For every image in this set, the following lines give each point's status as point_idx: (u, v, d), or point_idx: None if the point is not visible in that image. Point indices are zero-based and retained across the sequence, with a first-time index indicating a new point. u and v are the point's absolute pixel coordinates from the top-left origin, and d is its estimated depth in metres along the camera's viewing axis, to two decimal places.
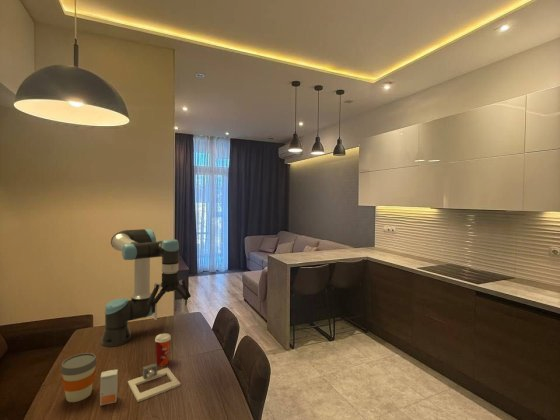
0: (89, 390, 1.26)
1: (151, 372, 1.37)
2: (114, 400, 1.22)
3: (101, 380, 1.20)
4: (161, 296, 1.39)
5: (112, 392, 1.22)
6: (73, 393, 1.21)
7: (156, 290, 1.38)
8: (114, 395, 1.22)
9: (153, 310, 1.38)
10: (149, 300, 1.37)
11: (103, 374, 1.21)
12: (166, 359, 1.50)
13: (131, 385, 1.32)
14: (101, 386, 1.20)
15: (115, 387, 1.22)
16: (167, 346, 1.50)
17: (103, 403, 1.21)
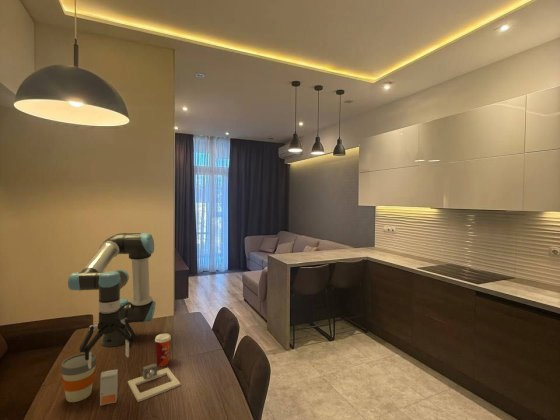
0: (89, 390, 1.26)
1: (151, 372, 1.37)
2: (114, 400, 1.22)
3: (101, 380, 1.20)
4: (97, 340, 1.18)
5: (112, 392, 1.22)
6: (73, 393, 1.21)
7: (90, 333, 1.17)
8: (114, 395, 1.22)
9: (86, 357, 1.17)
10: (81, 345, 1.16)
11: (103, 374, 1.21)
12: (166, 359, 1.50)
13: (131, 385, 1.32)
14: (101, 386, 1.20)
15: (115, 387, 1.22)
16: (167, 346, 1.50)
17: (103, 403, 1.21)
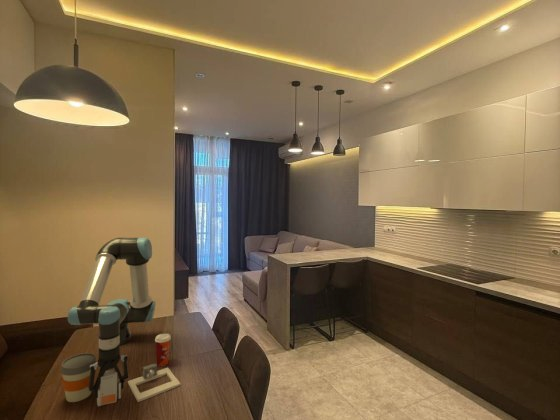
0: None
1: (151, 372, 1.37)
2: (114, 400, 1.22)
3: (101, 380, 1.20)
4: None
5: (112, 392, 1.22)
6: (73, 393, 1.21)
7: (92, 373, 1.18)
8: (114, 395, 1.22)
9: (96, 395, 1.19)
10: (89, 385, 1.18)
11: None
12: (166, 359, 1.50)
13: (131, 385, 1.32)
14: (101, 386, 1.20)
15: (115, 387, 1.22)
16: (167, 346, 1.50)
17: (103, 403, 1.21)
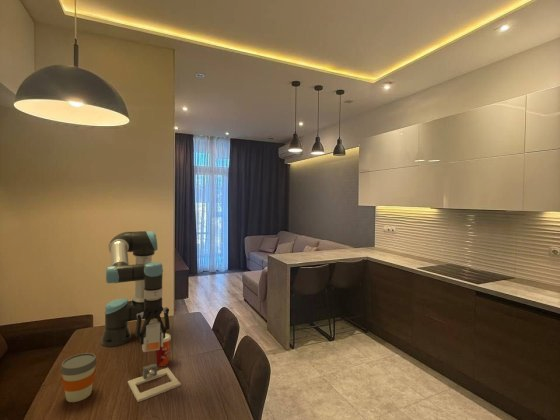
0: (89, 390, 1.26)
1: (151, 372, 1.37)
2: (158, 347, 1.33)
3: (146, 328, 1.30)
4: None
5: (156, 340, 1.32)
6: (73, 393, 1.21)
7: (139, 320, 1.28)
8: (158, 343, 1.32)
9: (141, 342, 1.30)
10: (136, 332, 1.29)
11: None
12: (166, 359, 1.50)
13: (131, 385, 1.32)
14: (146, 334, 1.30)
15: (159, 335, 1.32)
16: (167, 346, 1.50)
17: (148, 350, 1.31)
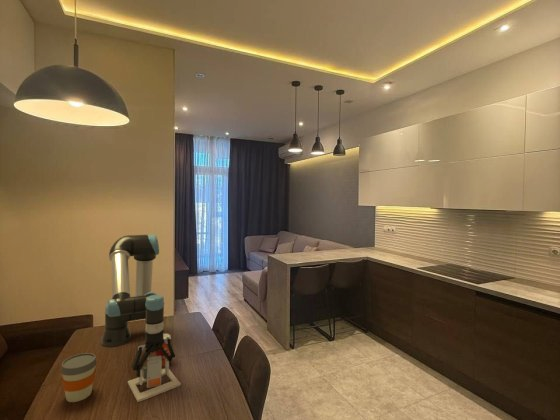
0: (89, 390, 1.26)
1: None
2: (159, 383, 1.34)
3: (148, 365, 1.31)
4: (146, 358, 1.31)
5: (158, 376, 1.33)
6: (73, 393, 1.21)
7: (139, 353, 1.29)
8: (159, 379, 1.34)
9: (138, 374, 1.30)
10: (133, 364, 1.29)
11: (150, 360, 1.33)
12: None
13: (131, 385, 1.32)
14: (148, 370, 1.31)
15: (160, 371, 1.34)
16: (167, 346, 1.50)
17: (150, 386, 1.32)
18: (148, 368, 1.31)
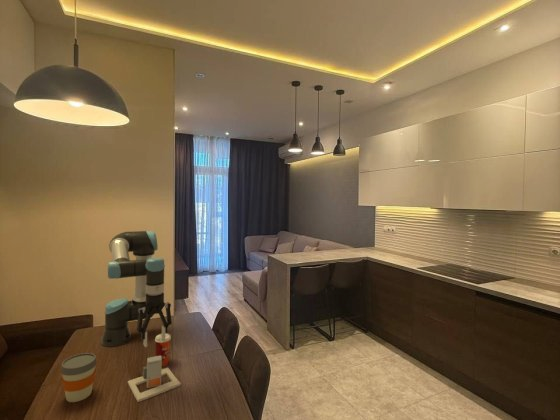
0: (89, 390, 1.26)
1: None
2: (159, 383, 1.34)
3: (148, 365, 1.31)
4: (149, 320, 1.31)
5: (158, 376, 1.33)
6: (73, 393, 1.21)
7: (141, 315, 1.29)
8: (159, 379, 1.34)
9: (143, 337, 1.30)
10: (137, 327, 1.29)
11: (150, 360, 1.33)
12: (166, 359, 1.50)
13: (131, 385, 1.32)
14: (148, 370, 1.31)
15: (160, 371, 1.34)
16: (167, 346, 1.50)
17: (150, 386, 1.32)
18: (148, 368, 1.31)
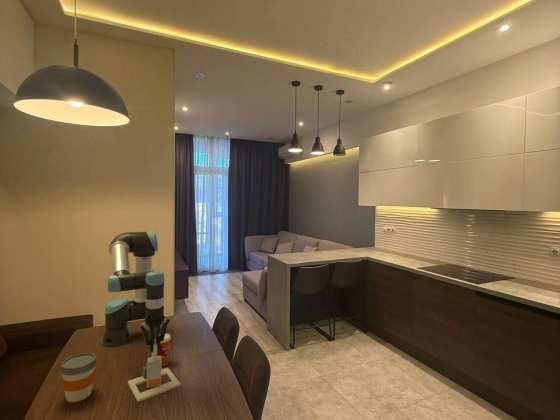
0: (89, 390, 1.26)
1: None
2: (159, 383, 1.34)
3: (148, 365, 1.31)
4: (153, 333, 1.32)
5: (158, 376, 1.33)
6: (73, 393, 1.21)
7: (144, 330, 1.30)
8: (159, 378, 1.34)
9: (151, 349, 1.33)
10: (145, 341, 1.31)
11: (150, 360, 1.33)
12: (166, 359, 1.50)
13: (131, 385, 1.32)
14: (148, 370, 1.31)
15: (160, 371, 1.34)
16: (167, 346, 1.50)
17: (150, 386, 1.32)
18: (148, 368, 1.31)
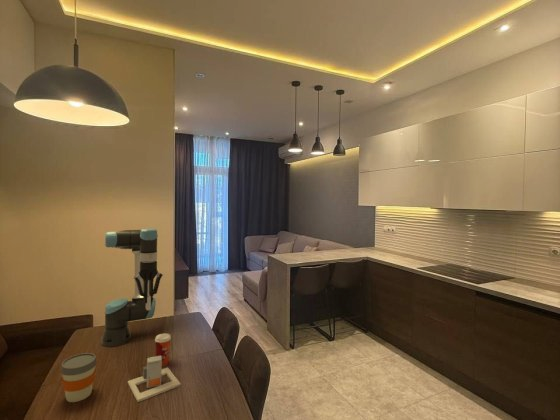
0: (89, 390, 1.26)
1: None
2: (159, 383, 1.34)
3: (148, 365, 1.31)
4: (147, 285, 1.42)
5: (158, 376, 1.33)
6: (73, 393, 1.21)
7: (138, 282, 1.40)
8: (159, 379, 1.34)
9: (145, 301, 1.42)
10: (139, 292, 1.41)
11: (150, 360, 1.33)
12: (166, 359, 1.50)
13: (131, 385, 1.32)
14: (148, 370, 1.31)
15: (160, 371, 1.34)
16: (167, 346, 1.50)
17: (150, 386, 1.32)
18: (148, 368, 1.31)
